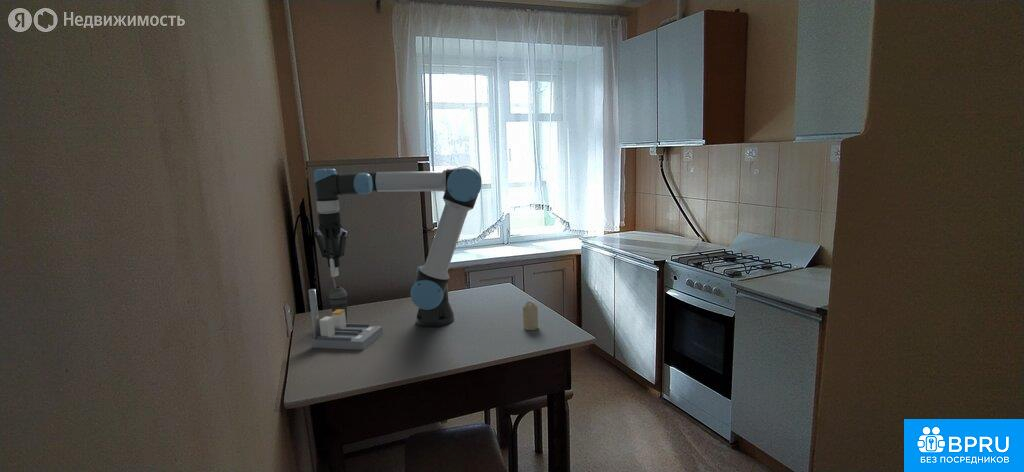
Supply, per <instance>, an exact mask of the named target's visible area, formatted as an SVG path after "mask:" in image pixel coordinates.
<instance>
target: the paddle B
mask: <svg viewBox="0 0 1024 472" xmlns="http://www.w3.org/2000/svg"><path fill="white" fill-rule="evenodd" d="M319 322H320V331H321V336H330V337H332V336H333V335H335V329H334V321H333V317H332V316H327V315H326V316H324V317H322V318H319Z"/></svg>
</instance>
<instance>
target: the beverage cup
mask: <svg viewBox="0 0 1024 472" xmlns="http://www.w3.org/2000/svg"><path fill="white" fill-rule="evenodd" d="M332 280H333V286H334V287H333V288H332V289H331V290H330V291H329V294H328V300H329V304H330V308H331V313H332V312H334V311H335V310H337V309H345V317H346V323H348V303H347V302H348V294H347V293H348V292H347V291H346V289H344V288H343V287H340V286H337V285H336V284H337V283H336V280H335V277H332Z"/></svg>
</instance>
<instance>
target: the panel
mask: <svg viewBox="0 0 1024 472" xmlns="http://www.w3.org/2000/svg"><path fill="white" fill-rule="evenodd" d="M334 329H335V335H333V336H332V337H330V336H318V337H317V339H314V338H312V339H311V345H312V346H311V347H312V349H336V350H357V351H358V350H363V351H364V350H366V348H368V347H369V346H370V345H371V344H372V343H374V342H375V341H376V340H377V339H378V338H380V337H381V336H382V335H383V334H384V330H383V329H384V328H383V326H382V325H370V323H353V322H352V323H351V322H347V323H346V327H345V328H334ZM379 336H380V337H379Z"/></svg>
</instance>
